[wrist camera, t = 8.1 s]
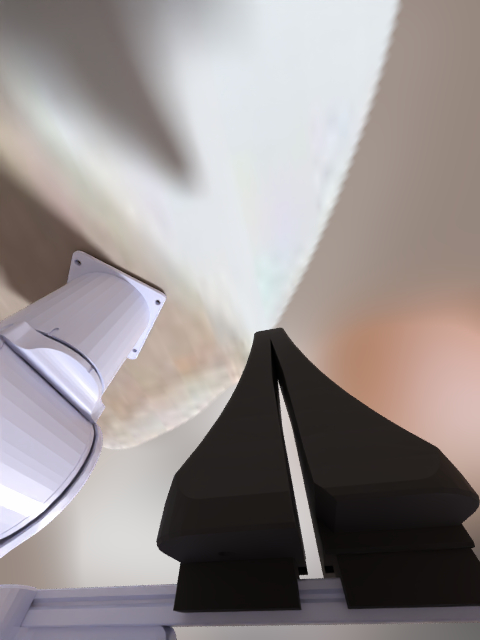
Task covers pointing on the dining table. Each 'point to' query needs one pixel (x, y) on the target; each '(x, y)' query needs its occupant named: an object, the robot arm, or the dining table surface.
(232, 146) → the dining table surface
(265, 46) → the dining table surface
